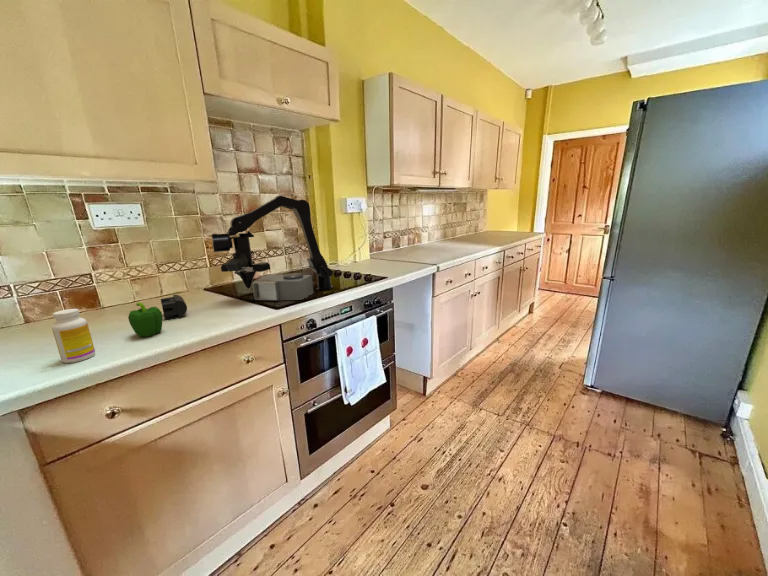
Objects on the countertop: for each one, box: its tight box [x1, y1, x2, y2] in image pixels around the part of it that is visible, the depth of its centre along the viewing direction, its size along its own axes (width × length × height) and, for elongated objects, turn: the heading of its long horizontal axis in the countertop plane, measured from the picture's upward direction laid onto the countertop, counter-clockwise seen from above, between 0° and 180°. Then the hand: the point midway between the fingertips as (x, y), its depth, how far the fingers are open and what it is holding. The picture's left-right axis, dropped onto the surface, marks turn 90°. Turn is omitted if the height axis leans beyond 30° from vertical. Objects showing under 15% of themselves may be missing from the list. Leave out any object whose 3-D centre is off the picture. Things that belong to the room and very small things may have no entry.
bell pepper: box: [127, 302, 164, 338], centre depth 100 cm, size 8×8×10 cm
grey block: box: [253, 272, 315, 301], centre depth 138 cm, size 12×20×9 cm, turn 77°
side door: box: [251, 281, 280, 301], centre depth 132 cm, size 3×10×7 cm, turn 77°
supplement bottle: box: [51, 308, 96, 364], centre depth 85 cm, size 7×7×13 cm
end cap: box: [160, 294, 188, 321], centre depth 118 cm, size 10×7×7 cm
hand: (248, 288), depth 133 cm, fingers closed
